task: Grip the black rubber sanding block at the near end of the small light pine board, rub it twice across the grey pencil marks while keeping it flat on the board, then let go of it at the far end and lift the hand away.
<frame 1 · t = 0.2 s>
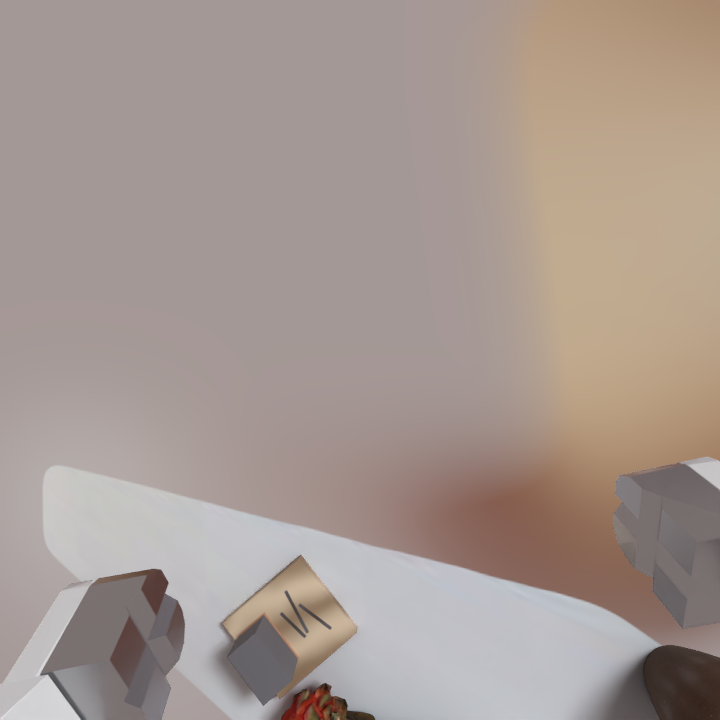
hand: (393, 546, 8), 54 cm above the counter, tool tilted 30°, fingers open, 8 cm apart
plant pot: (670, 671, 58), on the counter
dragon fruit: (319, 706, 58), point 1 cm above the counter, touching dark brown rough rod
sanding block: (268, 645, 58), point 1 cm above the counter, touching pine board
pine board: (291, 622, 60), on the counter
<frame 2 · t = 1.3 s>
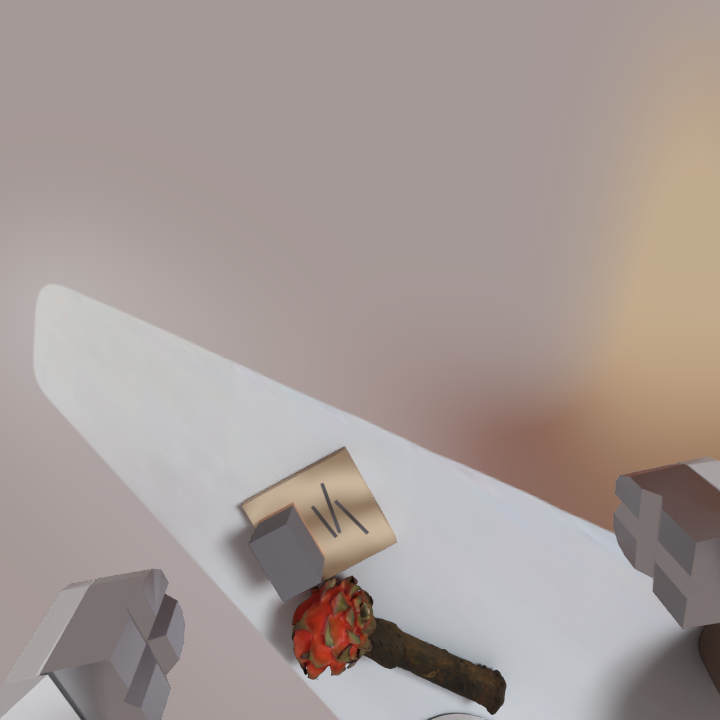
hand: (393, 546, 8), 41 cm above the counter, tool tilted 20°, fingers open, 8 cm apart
dark brown rough rod: (419, 648, 52), on the counter, touching dragon fruit
dragon fruit: (334, 606, 51), on the counter, touching dark brown rough rod
sanding block: (292, 538, 49), point 1 cm above the counter, touching pine board
pine board: (320, 518, 51), on the counter
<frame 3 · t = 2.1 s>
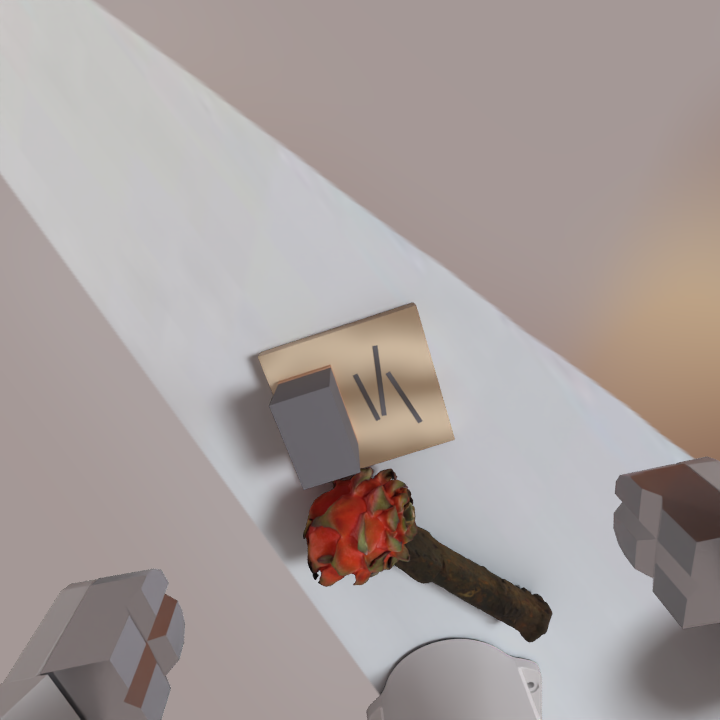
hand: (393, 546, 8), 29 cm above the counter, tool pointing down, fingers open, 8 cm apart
dark brown rough rod: (450, 562, 43), on the counter, touching dragon fruit
dragon fruit: (356, 503, 40), on the counter, touching dark brown rough rod
sanding block: (319, 412, 36), point 1 cm above the counter, touching pine board
pine board: (359, 393, 38), on the counter
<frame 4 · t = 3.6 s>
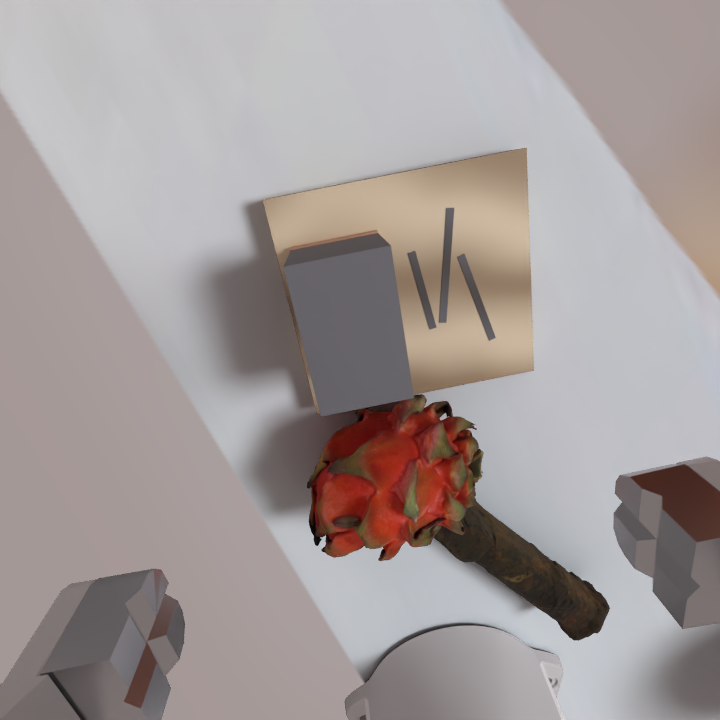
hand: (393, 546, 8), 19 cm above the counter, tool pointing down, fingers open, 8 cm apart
dark brown rough rod: (487, 534, 33), on the counter, touching dragon fruit
dragon fruit: (380, 446, 29), on the counter, touching dark brown rough rod
sanding block: (347, 306, 24), point 1 cm above the counter, touching pine board
pine board: (406, 287, 25), on the counter
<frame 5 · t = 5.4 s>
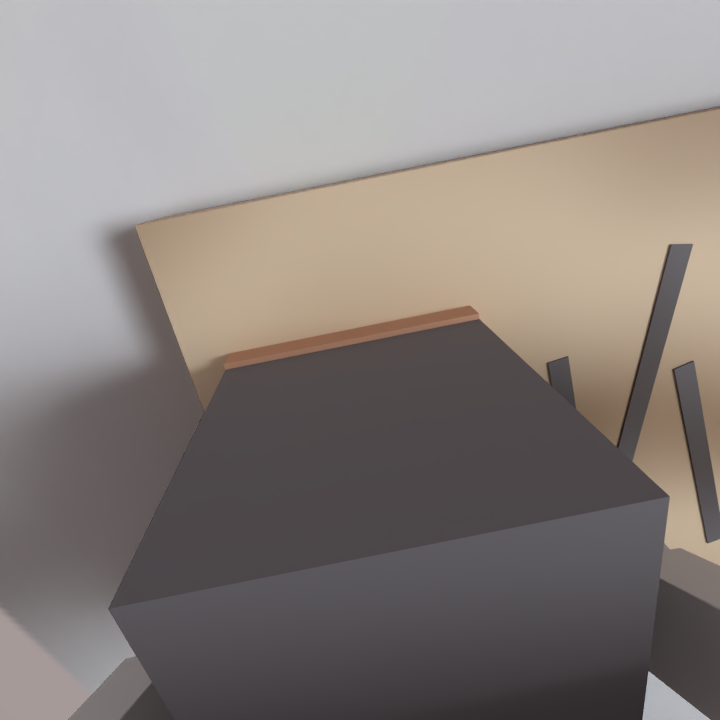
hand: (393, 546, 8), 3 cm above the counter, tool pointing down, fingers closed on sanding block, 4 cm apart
sanding block: (381, 487, 9), point 1 cm above the counter, touching gripper, pine board
pine board: (515, 418, 11), on the counter
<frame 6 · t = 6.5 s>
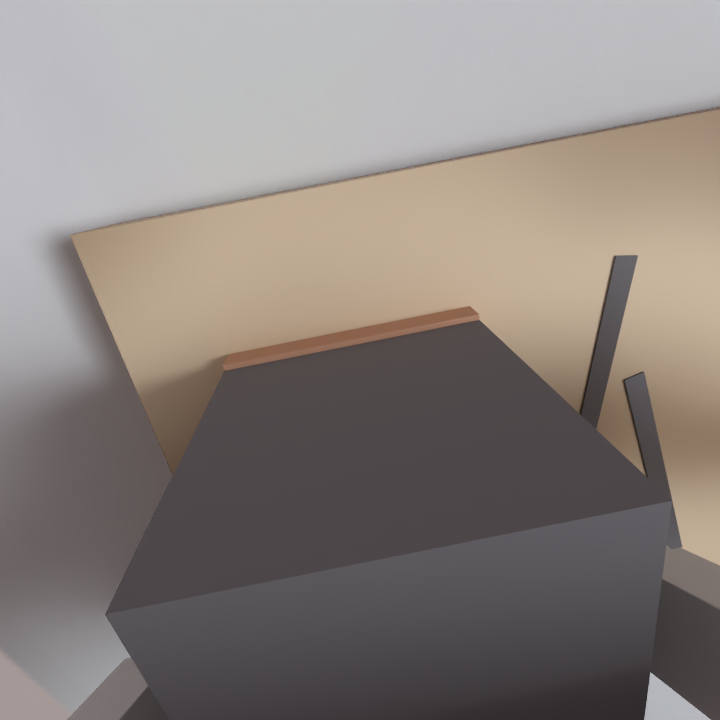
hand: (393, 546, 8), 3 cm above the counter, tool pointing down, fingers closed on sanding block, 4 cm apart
sanding block: (381, 488, 9), point 2 cm above the counter, touching gripper, pine board
pine board: (474, 427, 11), on the counter
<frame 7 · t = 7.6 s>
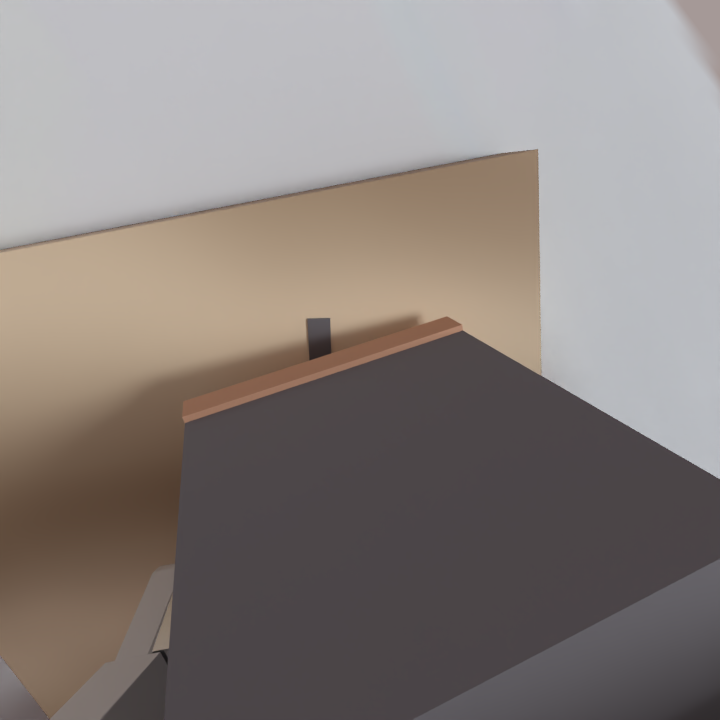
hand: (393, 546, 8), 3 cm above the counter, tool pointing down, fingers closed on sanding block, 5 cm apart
sanding block: (366, 520, 9), point 2 cm above the counter, tilted 14°, touching gripper
pine board: (251, 472, 11), on the counter
when the fingers open (3 cm above the counter, at t = 11.1 s): sanding block stays where it is, resting on pine board.
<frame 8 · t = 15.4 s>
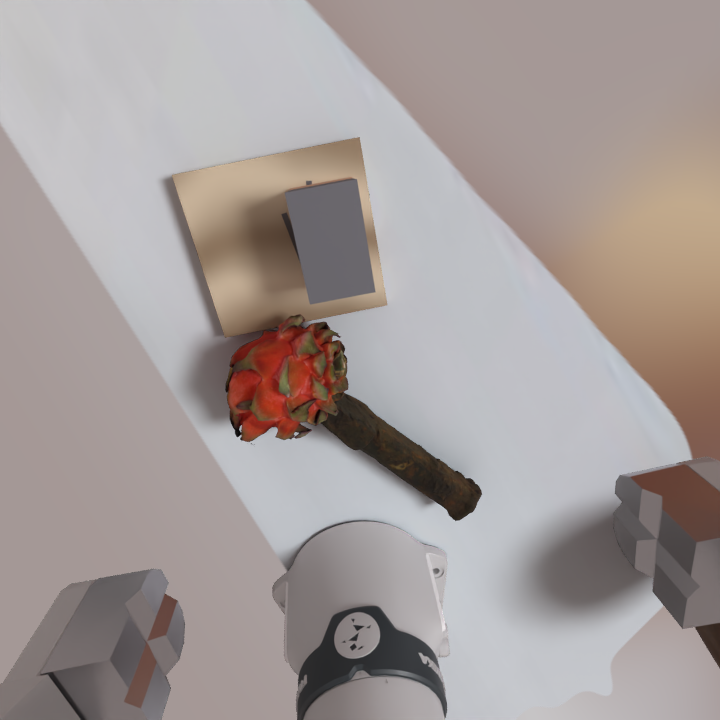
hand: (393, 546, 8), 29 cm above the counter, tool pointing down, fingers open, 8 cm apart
dark brown rough rod: (386, 440, 42), on the counter, touching dragon fruit
plant pot: (681, 515, 48), on the counter
dragon fruit: (287, 365, 38), on the counter, touching dark brown rough rod
sanding block: (330, 234, 32), point 2 cm above the counter, touching pine board
pine board: (288, 241, 34), on the counter
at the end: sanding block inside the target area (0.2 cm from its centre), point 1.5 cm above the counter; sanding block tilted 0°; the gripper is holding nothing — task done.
